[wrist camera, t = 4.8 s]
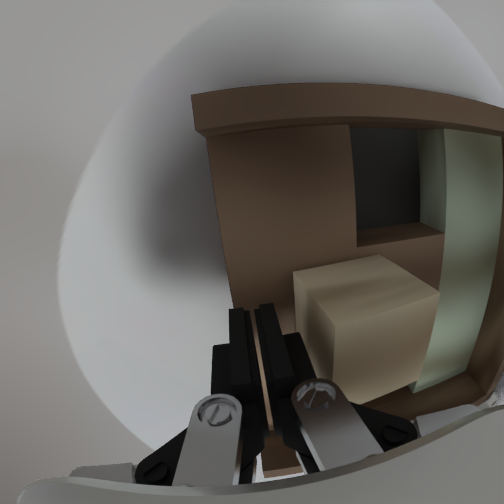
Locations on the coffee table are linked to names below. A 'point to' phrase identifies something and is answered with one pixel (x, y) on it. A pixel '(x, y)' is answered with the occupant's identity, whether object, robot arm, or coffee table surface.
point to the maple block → (365, 324)
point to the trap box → (366, 216)
